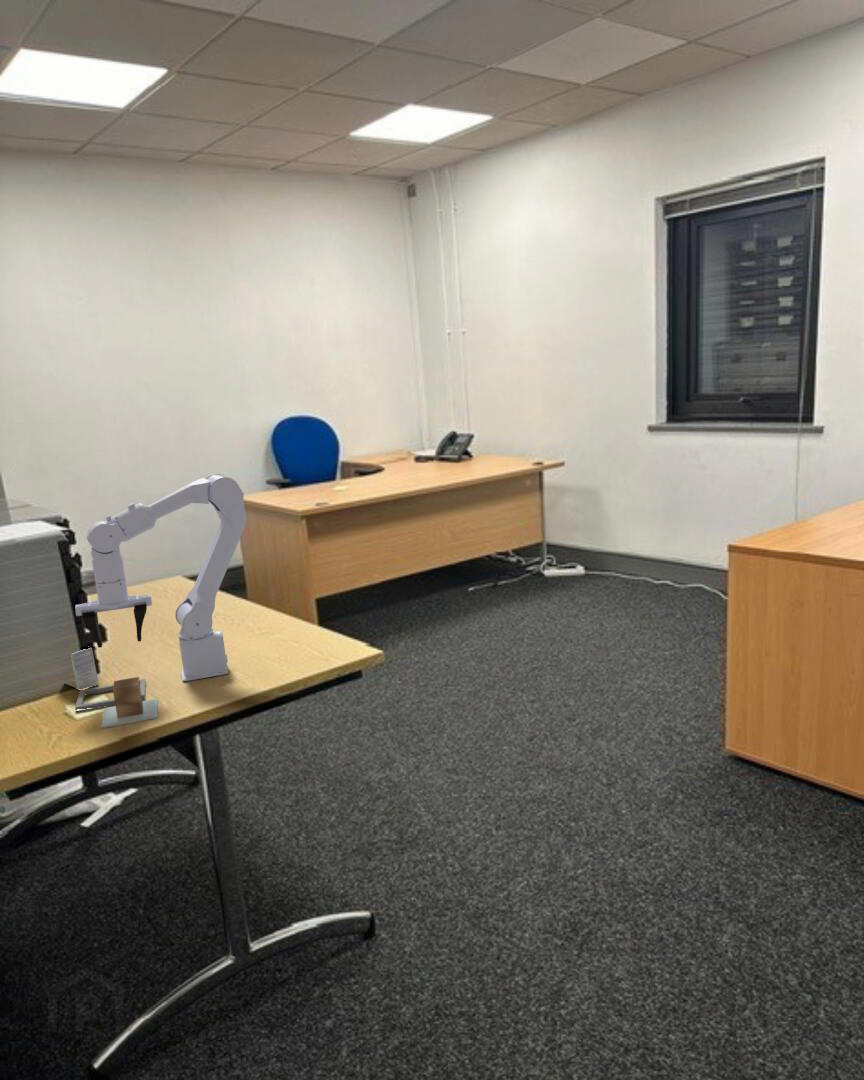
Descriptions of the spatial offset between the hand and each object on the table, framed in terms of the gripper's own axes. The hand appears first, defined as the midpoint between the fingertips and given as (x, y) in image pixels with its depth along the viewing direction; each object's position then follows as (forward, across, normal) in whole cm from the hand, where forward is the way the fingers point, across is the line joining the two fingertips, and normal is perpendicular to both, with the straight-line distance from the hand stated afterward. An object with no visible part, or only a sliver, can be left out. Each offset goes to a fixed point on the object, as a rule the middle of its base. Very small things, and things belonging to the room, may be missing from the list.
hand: (120, 643), depth 163 cm
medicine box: (+11, -10, +8) cm, 17 cm away
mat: (+10, +1, -14) cm, 17 cm away
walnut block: (+10, +1, -14) cm, 17 cm away
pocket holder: (+10, -3, -3) cm, 11 cm away
